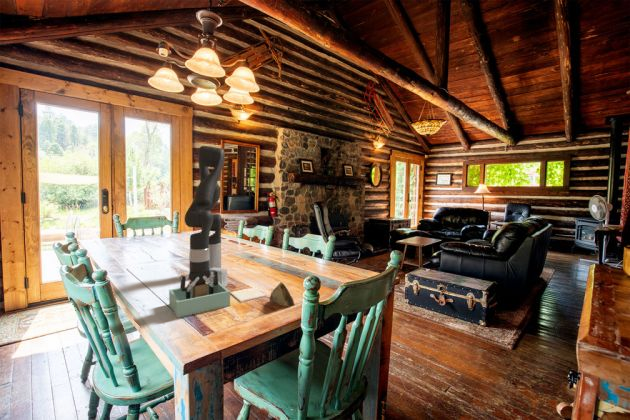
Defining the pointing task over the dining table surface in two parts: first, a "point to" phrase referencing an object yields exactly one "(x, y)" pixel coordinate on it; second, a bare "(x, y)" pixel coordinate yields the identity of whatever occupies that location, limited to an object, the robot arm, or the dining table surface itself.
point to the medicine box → (220, 276)
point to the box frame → (198, 301)
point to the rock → (282, 296)
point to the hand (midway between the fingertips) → (199, 297)
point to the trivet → (248, 294)
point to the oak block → (199, 290)
